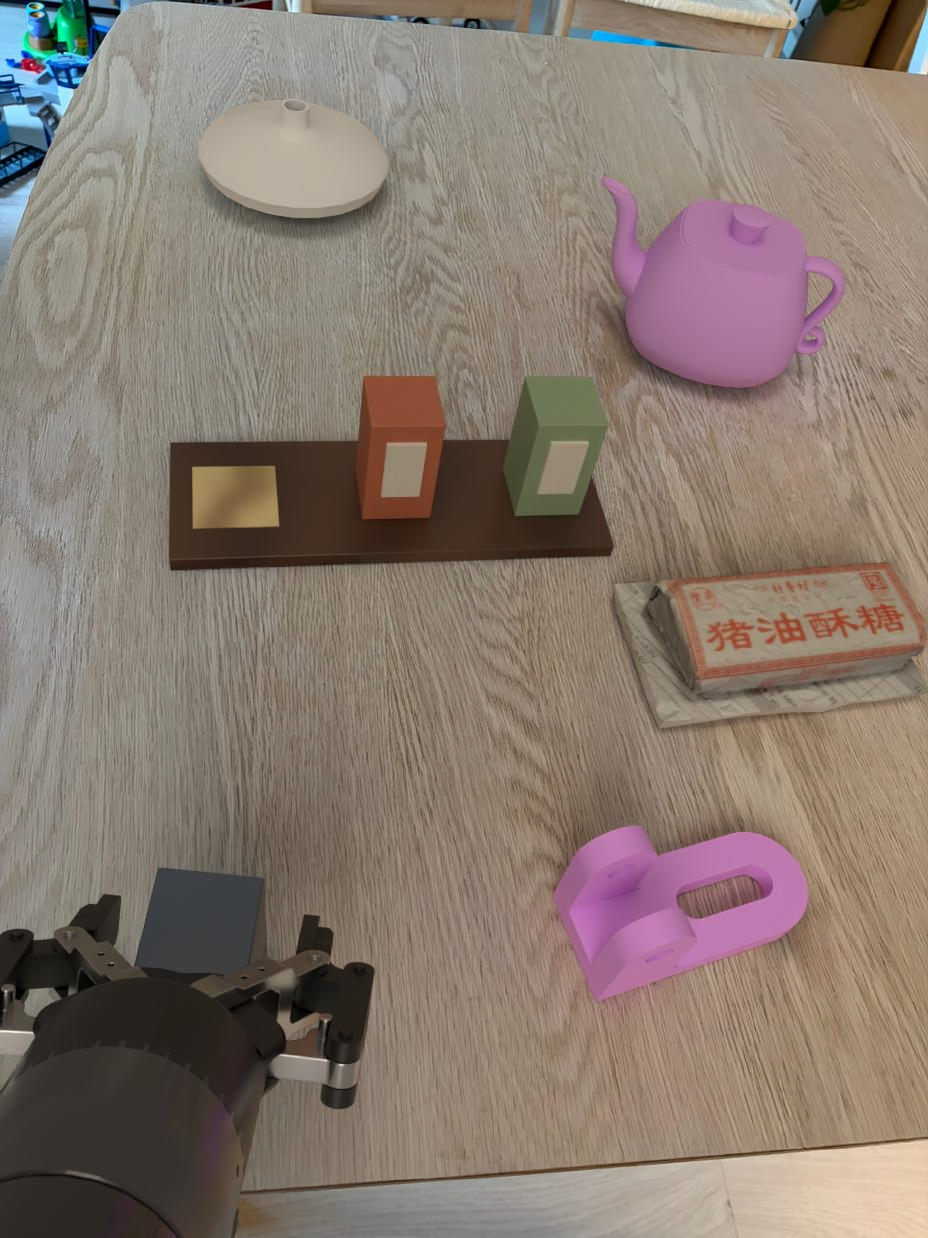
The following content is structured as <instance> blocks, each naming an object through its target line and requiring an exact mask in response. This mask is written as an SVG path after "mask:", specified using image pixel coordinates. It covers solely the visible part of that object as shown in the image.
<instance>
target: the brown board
mask: <svg viewBox="0 0 928 1238" xmlns="http://www.w3.org/2000/svg"><path fill="white" fill-rule="evenodd" d="M509 441H510V439H444V440H443V446H442V452H441V457H440V463H439V469H438V475H437V481H436V487H435V493H434V498H433V504H432V510H431V516H430V518H401V519H362V513H361V506H360V499H359V491H358V484H357V476H356V460H357V447H358V440H290V441H289V440H282V441H281V440H280V441H279V440H277V441H275V440H274V441H272V440H271V441H267V440H266V441H175V442H174V441H170V442H169V507H168V508H169V509H168V510H169V512H168V513H169V515H168V516H169V517H168V519H169V520H168V521H169V524H168V526H169V527H168V529H169V530H168V534H169V535H168V564H169V570H170V571H185V570H186V571H188V570H212V569H213V570H214V569H215V570H216V569H217V570H218V569H243V568H244V569H245V568H246V569H247V568H275V567H276V568H277V567H306V566H308V567H310V566H330V565H331V566H338V565H360V564H361V565H364V564H366V565H367V564H369V565H370V564H395V563H396V564H397V563H428V562H429V563H430V562H456V561H457V562H458V561H459V562H460V561H488V560H489V561H490V560H517V559H518V560H519V559H521V560H522V559H549V558H551V559H552V558H553V559H554V558H577V557H578V558H579V557H581V558H582V557H607V556H608V557H609V556H612V554H613V551H614V548H615V544H614V540H613V538H612V535H611V532H610V528H609V525H608V522H607V519H606V516H605V513H604V510H603V506H602V503H601V500H600V496H599V493H598V490H597V488H596V484H595V481H594V478H593V476H592V477H591V480H590V482H589V485H588V488H587V491H586V494H585V497H584V500H583V503H582V506H581V509H580V512H579V514H577V515H535V516H515V514H514V510H513V506H512V502H511V498H510V494H509V490H508V486H507V482H506V478H505V474H504V470H503V466H504V462H505V458H506V453H507V449H508V445H509Z"/></svg>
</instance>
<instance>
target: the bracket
mask: <svg viewBox="0 0 928 1238" xmlns="http://www.w3.org/2000/svg"><path fill="white" fill-rule="evenodd" d="M739 876H746V877H749V878H752V880H754V881H756V883H758V885H759V886H760V888H761V891H762V896H763V897H762V898H760V899H757V900H754V901H750V902H748V903H744V904H741V905H739V906H735V907H733V908H729V909H727V910H723V911H720V912H718V913H714V914H711V915H708V916H705V917H702V918H693V917H690V916H689V915H687V914H686V912H685V910H684V908H681V907H680V906H679V905H678V901H677V900H678V899H677V896H679V895H682V894H685V893H688V892H691V891H695V890H697V889H700V888H703V887H707V886H710V885H713V884H717V883H720V882H723V881H727V880H729V879H733V878H736V877H739ZM808 889H809V888H808V884H807V879H806V877H805V875H804V872H803V870H802V868H801V866H800V864H799V863H798V861H797V860H796V859H795V857H794V856H793V855H792V854H791V853H790V851H788V850H787V849H786V848H785V847H784V846H782V844H780V843H779V842H777V841H776V840H774V839H772V838H770V837H768V836H765V835H763V834H760V833H757V832H751V831H738V832H731V833H728V834H725V835H722V836H719V837H715V838H712V839H709V840H708V839H707V840H705V841H702V842H699V843H696V844H691V845H689V846H685V847H682V848H678V849H675V850H672V851H668V852H665V853H662V854H659V855H658V853H657V852H656V850H655V847H654V845H653V843H652V842H651V840H650V838H649V835H648V833H647V831H646V829H645V827H643V826H642V825H628V826H623V827H619V828H616V829H613V830H610V831H608V832H604V833H603V834H601V835H598V836H597V837H594V838H593V839H591V840H590V841H588V842H587V843H585V844H584V845H583V846H581V847H580V848H579V849H578V850H577V851H576V852H575V853H574V855H573V857H572V859H571V861H570V863H569V865H568V866H567V867H566V870H565V872H564V874H563V876H562V877H561V879H560V881H559V882H558V885H557V886H556V888H555V890H554V892H553V893H552V896H551V897H552V899H553V902H554V904H555V907H556V909H557V911H558V912H557V913H559V916H560V919H561V921H562V924H563V926H564V929H565V932H566V933H567V936H568V938H569V941H570V943H571V945H572V948H573V951H574V953H575V956H576V958H577V960H578V963H579V966H580V968H581V970H582V972H583V975H584V977H585V980H586V982H587V984H588V987H589V989H590V991H591V994H592V996H593V999H594V1002H595V1003H597V1002H600V1001H603V1000H606V999H608V998H612V997H615V996H618V995H620V994H623V993H627V992H629V991H632V990H635V989H638V988H641V987H643V986H647V985H649V984H650V985H651V984H653V983H655V982H658V981H661V980H665V979H667V978H670V977H673V976H676V975H678V974H681V973H685V972H687V971H690V970H693V969H696V968H699V967H702V966H705V965H708V964H711V963H713V962H717V961H719V960H722V959H725V958H728V957H731V956H734V955H736V954H740V953H743V952H746V951H748V950H752V949H754V948H758V947H761V946H763V945H766V944H769V943H772V942H775V941H777V940H779V939H780V938H782V937H783V936H784V935H786V934H787V933H788V932H789V931H790V930H791V929H792V928H793V927H794V926H796V925H797V924H798V923H799V921H800V920H801V919H802V918H803V916H804V914H805V912H806V909H807V905H808V900H809V891H808Z"/></svg>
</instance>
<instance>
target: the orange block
mask: <svg viewBox="0 0 928 1238" xmlns="http://www.w3.org/2000/svg"><path fill="white" fill-rule="evenodd" d="M360 398H361V399H360V411H359V423H358V424H359V425H358V436H357V441H358V447H357V460H356V476H357V484H358V491H359V499H360V506H361V513H362V519H401V518H430V516H431V510H432V504H433V498H434V493H435V487H436V481H437V475H438V469H439V463H440V457H441V452H442V446H443V440H445V433H446V428H447V424H446V421H445V415H444V411H443V405H442V401H441V397H440V391H439V387H438V383H437V377H436V376H435V375H363V376H362V387H361V397H360Z"/></svg>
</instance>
